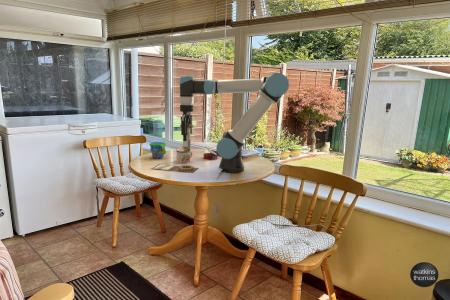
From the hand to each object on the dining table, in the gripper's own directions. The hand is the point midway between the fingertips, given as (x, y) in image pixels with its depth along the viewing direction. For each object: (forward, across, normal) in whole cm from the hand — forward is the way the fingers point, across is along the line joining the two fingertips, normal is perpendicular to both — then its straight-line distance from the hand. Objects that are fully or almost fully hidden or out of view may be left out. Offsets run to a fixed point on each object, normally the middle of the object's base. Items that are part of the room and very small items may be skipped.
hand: (186, 145), depth 174 cm
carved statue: (+3, 0, 0) cm, 3 cm away
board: (+16, 0, -7) cm, 17 cm away
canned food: (+16, -39, +4) cm, 42 cm away
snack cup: (+16, -29, -31) cm, 45 cm away
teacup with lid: (+16, -20, -8) cm, 27 cm away
